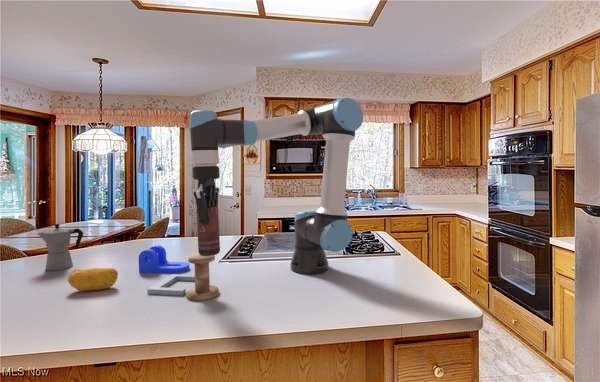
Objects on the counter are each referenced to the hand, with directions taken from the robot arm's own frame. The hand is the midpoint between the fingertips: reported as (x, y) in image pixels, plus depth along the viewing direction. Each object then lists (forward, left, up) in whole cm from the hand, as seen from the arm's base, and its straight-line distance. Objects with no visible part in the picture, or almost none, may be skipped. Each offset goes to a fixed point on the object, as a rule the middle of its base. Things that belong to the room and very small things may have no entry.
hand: (210, 245), depth 96 cm
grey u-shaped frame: (+17, -12, -17) cm, 27 cm away
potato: (+43, -6, -18) cm, 47 cm away
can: (0, 0, -3) cm, 3 cm away
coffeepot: (+75, -27, -18) cm, 82 cm away
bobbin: (+5, -6, -17) cm, 19 cm away
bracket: (+31, -29, -18) cm, 46 cm away
